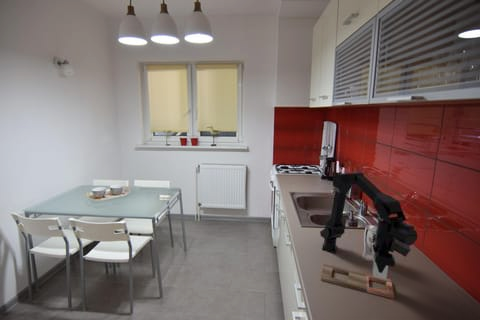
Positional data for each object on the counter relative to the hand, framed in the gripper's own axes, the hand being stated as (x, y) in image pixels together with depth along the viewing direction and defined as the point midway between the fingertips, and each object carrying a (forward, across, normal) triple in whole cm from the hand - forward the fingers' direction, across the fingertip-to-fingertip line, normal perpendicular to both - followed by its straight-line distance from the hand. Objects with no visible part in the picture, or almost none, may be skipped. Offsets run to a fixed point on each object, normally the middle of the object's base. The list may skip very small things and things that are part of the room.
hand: (379, 268), depth 103 cm
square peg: (+2, 0, 0) cm, 2 cm away
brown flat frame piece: (+8, 0, +8) cm, 11 cm away
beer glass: (+8, +21, +2) cm, 22 cm away
